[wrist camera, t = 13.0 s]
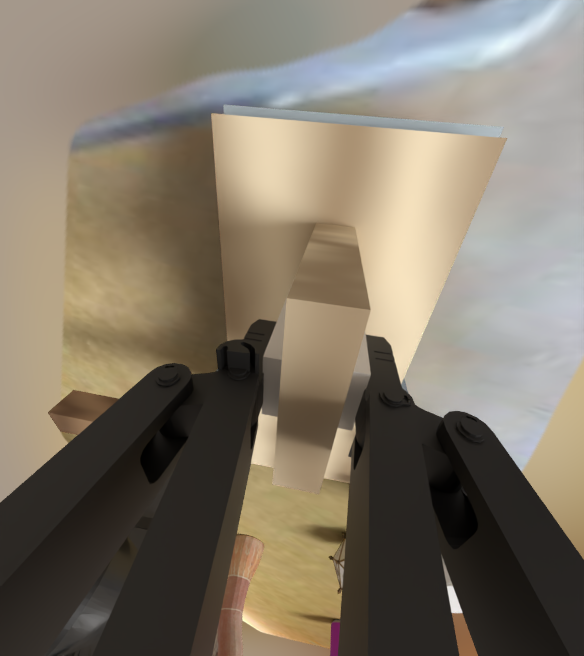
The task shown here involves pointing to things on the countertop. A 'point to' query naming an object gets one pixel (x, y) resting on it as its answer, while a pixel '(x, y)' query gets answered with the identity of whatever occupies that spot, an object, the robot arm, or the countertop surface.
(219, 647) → the vase
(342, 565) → the game die
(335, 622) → the beverage can
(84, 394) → the cross bar
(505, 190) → the countertop surface
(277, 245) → the lid
